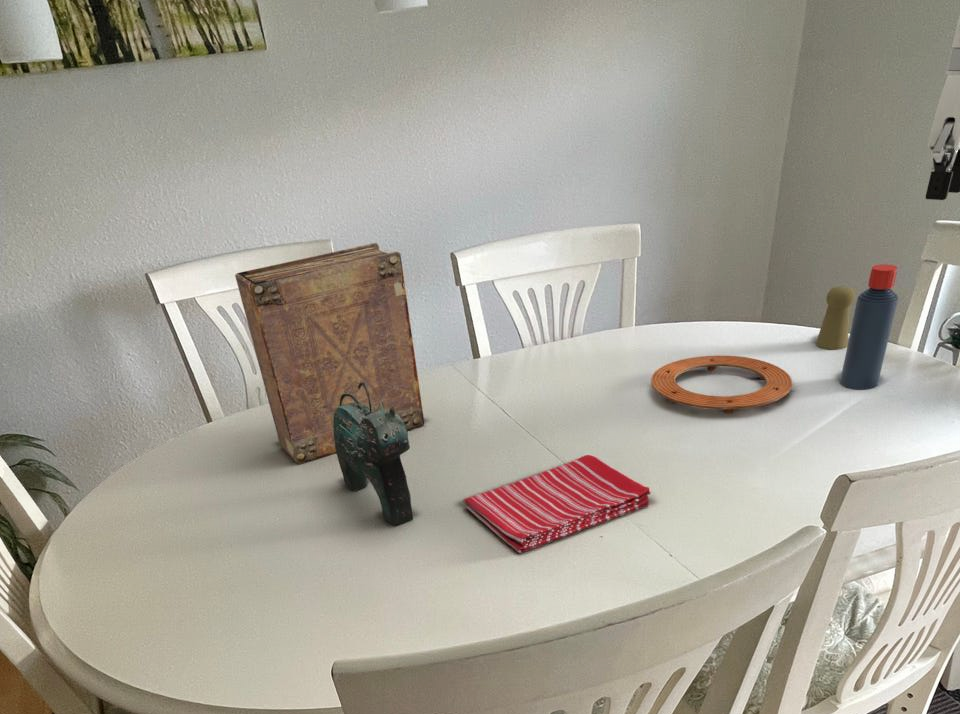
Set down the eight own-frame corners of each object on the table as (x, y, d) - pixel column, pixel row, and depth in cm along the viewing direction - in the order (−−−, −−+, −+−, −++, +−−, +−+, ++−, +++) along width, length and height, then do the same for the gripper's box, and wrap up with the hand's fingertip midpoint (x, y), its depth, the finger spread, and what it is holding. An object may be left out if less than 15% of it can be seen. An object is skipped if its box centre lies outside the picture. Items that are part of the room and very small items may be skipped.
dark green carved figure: (425, 521, 118) (406, 393, 105) (387, 536, 115) (363, 406, 103) (367, 475, 131) (344, 356, 119) (332, 488, 129) (305, 368, 116)
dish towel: (655, 504, 116) (656, 488, 114) (520, 556, 108) (519, 540, 106) (588, 463, 128) (588, 448, 126) (462, 507, 120) (460, 492, 118)
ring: (765, 361, 156) (767, 348, 154) (811, 411, 136) (813, 397, 135) (639, 372, 157) (639, 360, 155) (666, 424, 137) (667, 411, 135)
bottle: (883, 381, 144) (911, 268, 131) (867, 392, 140) (894, 278, 128) (850, 373, 147) (874, 264, 135) (833, 384, 144) (856, 273, 132)
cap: (863, 287, 133) (867, 268, 132) (874, 281, 135) (878, 263, 134) (886, 290, 131) (890, 271, 129) (897, 284, 133) (901, 266, 131)
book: (403, 410, 152) (378, 242, 133) (425, 425, 145) (401, 250, 126) (280, 447, 143) (234, 273, 124) (296, 465, 136) (251, 284, 118)
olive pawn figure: (814, 348, 159) (825, 291, 152) (816, 338, 163) (827, 283, 156) (846, 350, 157) (858, 292, 150) (848, 340, 161) (859, 283, 154)
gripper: (971, 55, 125) (940, 184, 136) (927, 68, 116) (897, 205, 128) (1023, 53, 120) (986, 186, 132) (981, 66, 112) (945, 207, 123)
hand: (943, 194), depth 130 cm, fingers open, 5 cm apart
